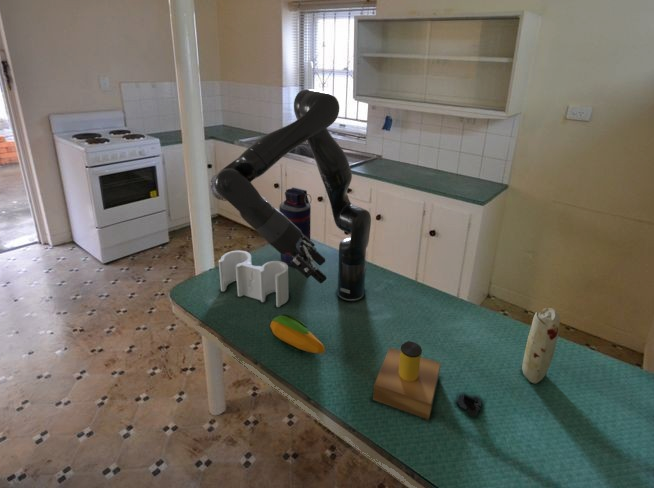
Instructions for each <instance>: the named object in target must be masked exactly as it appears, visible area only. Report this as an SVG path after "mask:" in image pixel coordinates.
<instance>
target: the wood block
mask: <svg viewBox="0 0 654 488" xmlns="http://www.w3.org/2000/svg"><path fill="white" fill-rule="evenodd" d="M400 353H401V349H397V348H393V347H390V346H389V347H388V350H387V353H386V354H385V357H384V359H383V362H382V364H381V367H380V370H379V372H378V374H377V376H376V379H375V381H374V384H373V393H372V394H373V396H372V400H373V401H376V402H378V403H381V404H384V405H387V406H390V407H392V408H395V409H397V410H401V411H403V412H406V413H409V414H411V415H414V416H417V417H420V418H423V419H425V420H430V417H431V413H432V409H433V404H434V400H435V395H436V391H437V387H438V381H439V378H440V371H441V366H442V365H441V364H442V363H441V362H438V361H435V360H433V359H429V358H426V357H423V356H421V359H420V366H419V374H418V378H417V379H416V380H415V381H406V380H403V379H402V378H401V377H400V376H399V362H400Z"/></svg>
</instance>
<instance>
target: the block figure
mask: <svg viewBox="0 0 654 488" xmlns="http://www.w3.org/2000/svg"><path fill="white" fill-rule="evenodd" d="M456 404H457V406H458V408H460V409H461V410H463V411H467V414H468V416H470V417H472V418H477V416H478V413H479V412H482V411H481V410H482V409H481V408H480V407H481V405H482V400H481V398H480V397H478V396H473V397H472V396H469V395H467V394H459V396H458V398H457V401H456Z"/></svg>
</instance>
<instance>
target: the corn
mask: <svg viewBox="0 0 654 488" xmlns="http://www.w3.org/2000/svg"><path fill="white" fill-rule="evenodd" d="M269 326H270V327H269V328H270V331H271V333H272V335H273V336H274V337H275V338H276V339H277V340H278V341H280V342H282V343H283V344H284V345H286V346H288V347H290V348H291V349H293V350H296V351H297V352H299V353H303V351H305V352H307V353H312V354H324V353H325V351H326V348H325V346H324V344H323V343H322V341H320V340H319V339H318V338H317V337H316V336H315V335H314V334H313V333H312V332H311V331H309V330H308V329H307V327H308V326H307V325H305V324H304V323H303V322H302V321H301V320H299V319H297V318H296V317H294V316H292V315H290V314H279V315H277V316H275V317H274V318H273V319H272V320H271V322H270V325H269Z"/></svg>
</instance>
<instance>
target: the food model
mask: <svg viewBox="0 0 654 488" xmlns="http://www.w3.org/2000/svg"><path fill="white" fill-rule="evenodd" d="M560 325H561V316H560V313H559V312H557V310H555V309H554V308H552V307H545V308H543V309H542V310H541V311H540V312H539V313H538V312H537V311H536V312H535V313H534V315H533V318H532V322H531V326H530V328H529V329H530V330H529V333H528V337H527V340H526V341H527V342H526V345H525V349H524V355H523V360H522V365H521V369H522V370H521V371H522V374H523V376H524V378H526V379H527V380H528V381H529V382H530V383H531V384H538V383H540V382H541V381H542V380H543V379H544V378H545V376H546V375H547V373H548V370H549V368H550V366H551V364H552V362H553V358H554V355H555V350H556V345H557V341H558V338H559V332H560Z"/></svg>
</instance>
